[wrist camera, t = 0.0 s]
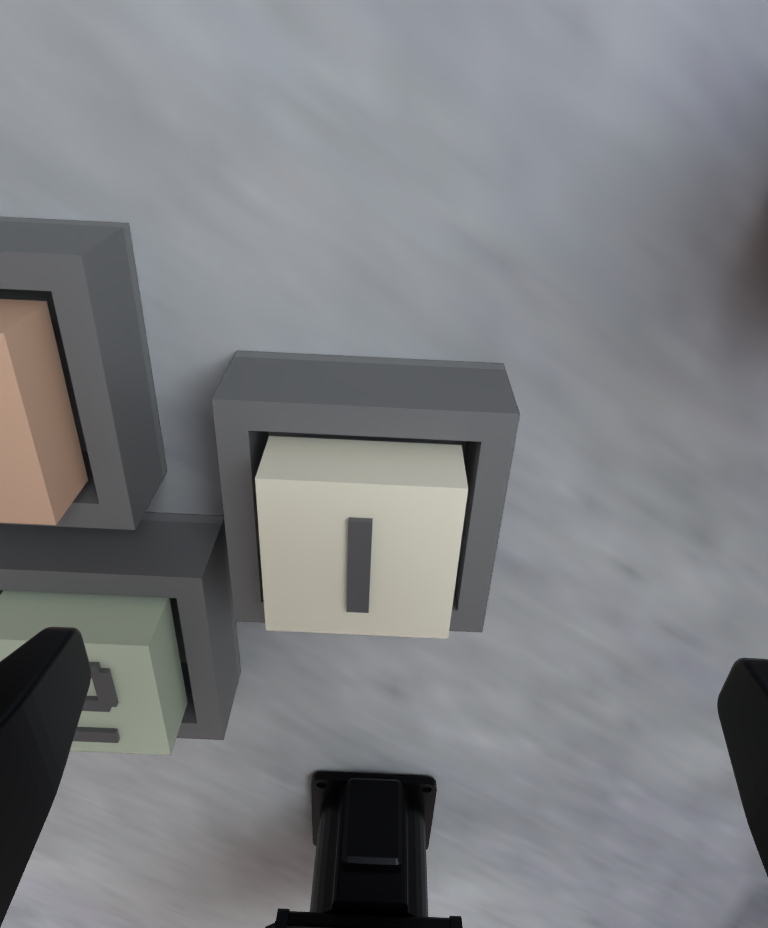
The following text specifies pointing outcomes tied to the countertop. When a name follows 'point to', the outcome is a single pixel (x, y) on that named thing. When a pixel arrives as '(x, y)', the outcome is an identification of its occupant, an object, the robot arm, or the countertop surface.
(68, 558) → the tile collars
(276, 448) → the tile
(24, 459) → the tile
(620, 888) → the countertop surface
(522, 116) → the countertop surface
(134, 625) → the tile
